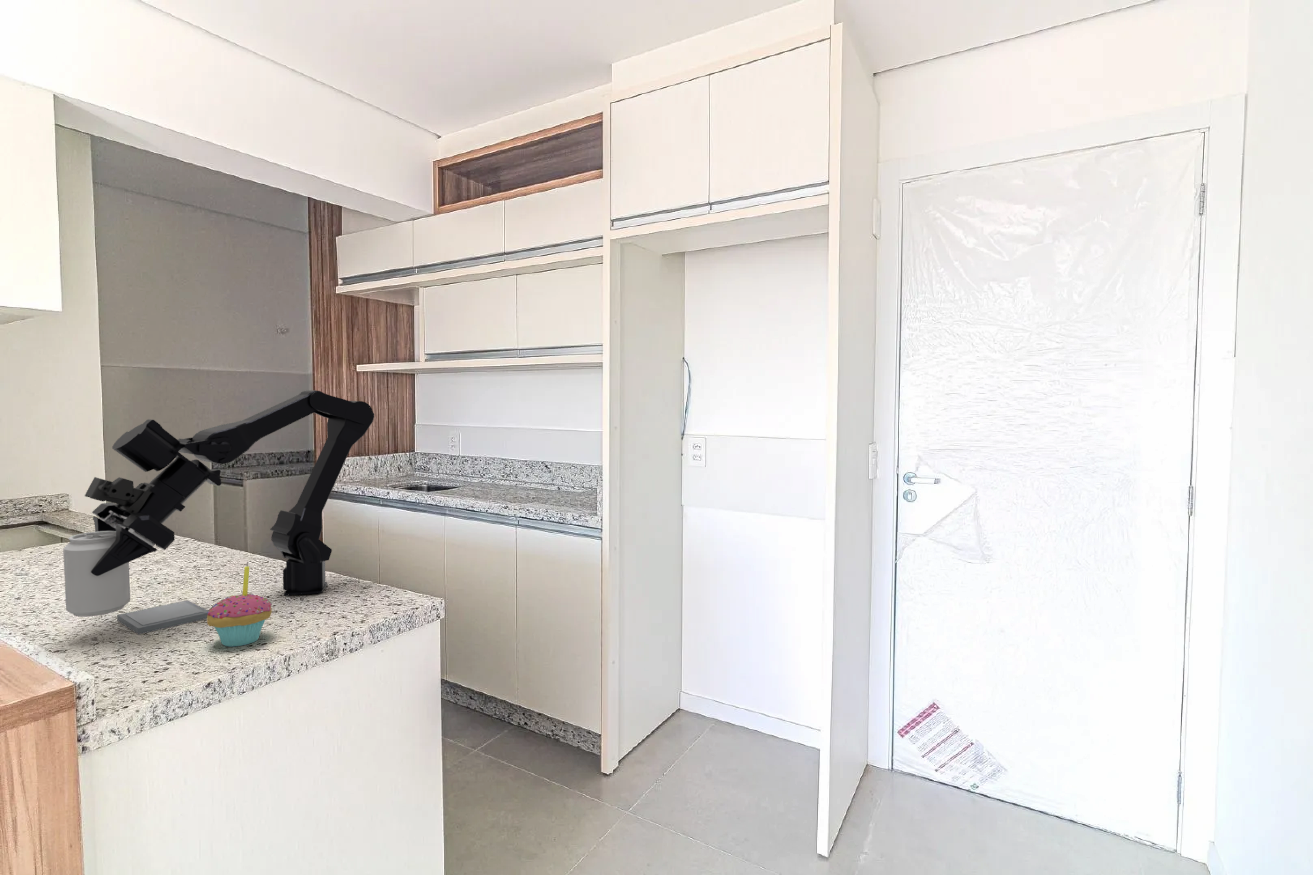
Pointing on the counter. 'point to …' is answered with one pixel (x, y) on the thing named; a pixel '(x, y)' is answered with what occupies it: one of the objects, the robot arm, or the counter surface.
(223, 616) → the cupcake
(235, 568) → the counter surface
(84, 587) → the can
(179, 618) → the plate
